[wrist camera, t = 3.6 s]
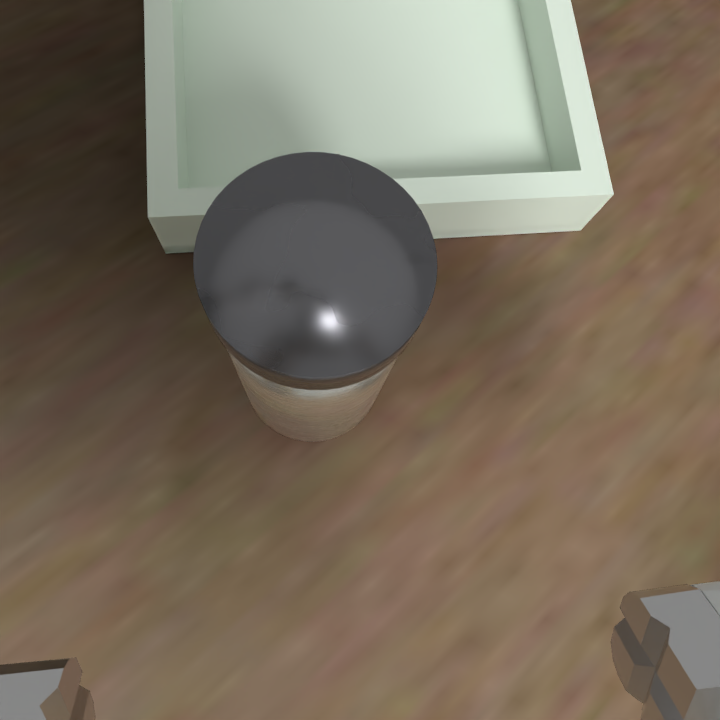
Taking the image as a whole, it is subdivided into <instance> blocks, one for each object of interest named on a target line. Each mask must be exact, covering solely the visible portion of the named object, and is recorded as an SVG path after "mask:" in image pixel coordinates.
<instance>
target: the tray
mask: <svg viewBox="0 0 720 720" xmlns="http://www.w3.org/2000/svg"><path fill="white" fill-rule="evenodd" d="M144 32H145V88H146V145H147V202H148V219H149V221H150V223H151V225H152V227H153V229H154V231H155V233H156V235H157V237H158V239H159V241H160V243H161V245H162V247H163V249H164V251H165V253H166V254H168V253H186V252H194V248H195V242H196V237H197V234H198V231H199V228H200V225H201V222H202V220H203V218H204V216H205V214H206V212H207V210H208V208H209V207H210V205H211V204H212V202H213V201H214V199H215V198H216V197H217V196H218V194H219V193H220V192H221V191H222V190H223V189H224V188H225V187H226V186H227V185H228V184H229V183H230V182H231V181H233V180H234V179H235V178H236V177H237V176H239V175H240V174H242V173H243V172H245V171H246V170H248V169H250V168H251V167H253V166H256V165H258V164H260V163H262V162H264V161H267V160H270V159H272V158H275V157H278V156H283V155H288V154H292V153H302V152H325V153H333V154H339V155H343V156H347V157H351V158H354V159H357V160H360V161H362V162H365V163H367V164H369V165H371V166H373V167H375V168H377V169H379V170H381V171H382V172H384V173H385V174H387V175H388V176H389V177H391V178H392V179H394V180H395V181H396V182H397V183H398V184H399V185H400V186H402V187H403V188H404V189H405V190H406V191H407V193H408V194H409V195H410V196H411V197H412V198H413V199H414V201H415V202H416V204H417V205H418V207H419V208H420V209H421V211H422V213H423V215H424V217H425V219H426V220H427V222H428V224H429V227H430V230H431V233H432V236H433V239H437V238H455V237H473V236H491V235H508V234H526V233H544V232H562V231H580V230H581V229H582V228H583V227H584V226H585V225H586V224H587V223H588V222H589V221H590V220H591V219H592V217H593V216H594V215H595V214H596V213H597V212H598V211H599V210H600V209H601V208H602V207H603V206H604V204H605V203H606V202H607V201H608V200H609V199H610V198H611V197H612V196H613V195H614V193H613V189H612V184H611V180H610V175H609V171H608V166H607V162H606V157H605V153H604V148H603V144H602V139H601V135H600V130H599V126H598V121H597V117H596V112H595V108H594V103H593V99H592V94H591V90H590V85H589V81H588V76H587V72H586V67H585V63H584V58H583V54H582V49H581V45H580V40H579V36H578V31H577V27H576V22H575V18H574V13H573V9H572V4H571V0H144Z"/></svg>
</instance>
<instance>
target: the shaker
mask: <svg viewBox="0 0 720 720" xmlns="http://www.w3.org/2000/svg"><path fill="white" fill-rule="evenodd" d="M193 268H194V277H195V283H196V287H197V291H198V295H199V298H200V300H201V303H202V305H203V307H204V310H205V312H206V314H207V316H208V319H209V321H210V323H211V325H212V327H213V329H214V331H215V333H216V334H217V336H218V338H219V339H220V341H221V342H222V344H223V345H224V346H225V348H226V349H227V350H228V352H229V355H230V357H231V359H232V362H233V364H234V366H235V368H236V371H237V373H238V375H239V378H240V380H241V382H242V385H243V387H244V389H245V392H246V394H247V396H248V398H249V401H250V403H251V405H252V407H253V409H254V410H255V412H256V414H257V415H258V416H259V417H260V419H261V420H262V421H263V422H264V423H265V424H266V425H267V426H269V427H270V428H271V429H273V430H274V431H276V432H277V433H279V434H281V435H283V436H286V437H288V438H291V439H295V440H299V441H306V442H319V441H325V440H330V439H333V438H336V437H338V436H341V435H343V434H345V433H347V432H348V431H350V430H351V429H353V428H354V427H355V426H356V425H358V424H359V423H360V422H361V421H362V420H363V419H364V417H365V416H366V415H367V413H368V412H369V411H370V409H371V407H372V405H373V403H374V401H375V399H376V397H377V396H378V394H379V392H380V390H381V388H382V386H383V384H384V382H385V380H386V378H387V376H388V374H389V373H390V371H391V369H392V367H393V365H394V363H395V361H396V359H397V357H398V356H399V355H400V354H401V353H402V352H403V351H404V349H405V348H406V347H407V345H408V344H409V342H410V341H411V340H412V338H413V336H414V334H415V333H416V331H417V329H418V327H419V325H420V323H421V322H422V320H423V318H424V316H425V314H426V312H427V310H428V308H429V305H430V303H431V300H432V297H433V294H434V289H435V285H436V278H437V255H436V248H435V244H434V239H433V236H432V233H431V230H430V227H429V224H428V222H427V220H426V219H425V217H424V215H423V213H422V211H421V209H420V208H419V207H418V205H417V204H416V202H415V201H414V199H413V198H412V197H411V196H410V195H409V194H408V193H407V191H406V190H405V189H404V188H403V187H402V186H400V185H399V184H398V183H397V182H396V181H395V180H394V179H392V178H391V177H389V176H388V175H387V174H385V173H384V172H382V171H381V170H379V169H377V168H375V167H373V166H371V165H369V164H367V163H365V162H362V161H360V160H357V159H354V158H351V157H347V156H343V155H339V154H333V153H325V152H302V153H292V154H288V155H283V156H278V157H275V158H272V159H270V160H267V161H264V162H262V163H260V164H258V165H256V166H253V167H251V168H250V169H248V170H246V171H245V172H243V173H242V174H240V175H239V176H237V177H236V178H235V179H234V180H233V181H231V182H230V183H229V184H228V185H227V186H226V187H225V188H224V189H223V190H222V191H221V192H220V193H219V194H218V196H217V197H216V198H215V199H214V201H213V202H212V204H211V205H210V207H209V208H208V210H207V212H206V214H205V216H204V218H203V220H202V222H201V225H200V228H199V231H198V234H197V237H196V242H195V248H194V261H193Z"/></svg>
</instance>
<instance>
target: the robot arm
mask: <svg viewBox="0 0 720 720" xmlns="http://www.w3.org/2000/svg"><path fill="white" fill-rule="evenodd" d="M620 609H621V611H622V613H623V615H624V617H625V618H624V619H623V620H622V621H620V622H619V623H618V624H617V625H616V626H615V627H614V630H613V634H612V639H611V648H612V657H613V662H614V665H615V668H616V671H617V674H618V676H619V678H620V680H621V682H622V684H623V686H624V688H625V690H626V691H627V692H628V693H630V694H631V695H632V696H633V697H635V698H636V699H637V700H639V701H640V702H641V703H643V707H642V714H641V720H720V581H716V582H708V583H701V584H694V585H687V584H685V585H677V586H670V587H662V588H655V589H647V590H640V591H633V592H629V593H627V594H626V595H625V596H624V597H623V599H622V602H621V605H620ZM81 676H82V669H81V667H80V665H79V663H78V660H77V658H76V657H75V658H65V659H55V660H44V661H34V662H24V663H14V664H4V665H0V720H95V710H94V702H93V699H92V696H91V693H90V691H89V690H87V689H85V688H84V687H82V686H80V685H79V683H80V679H81Z"/></svg>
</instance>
